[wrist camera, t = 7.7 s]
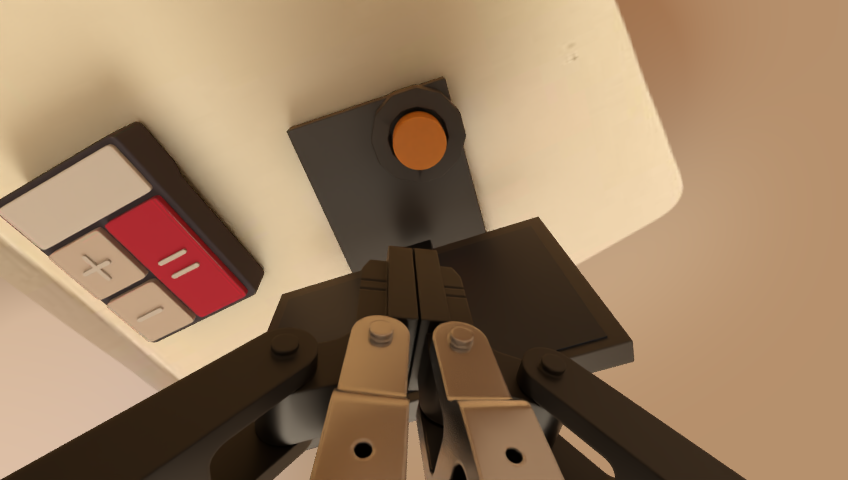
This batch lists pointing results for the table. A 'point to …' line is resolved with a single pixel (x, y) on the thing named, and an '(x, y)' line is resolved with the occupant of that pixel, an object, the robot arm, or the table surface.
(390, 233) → the monitor base
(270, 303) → the table surface
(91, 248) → the calculator
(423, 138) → the power button
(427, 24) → the table surface
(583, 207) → the table surface
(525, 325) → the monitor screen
